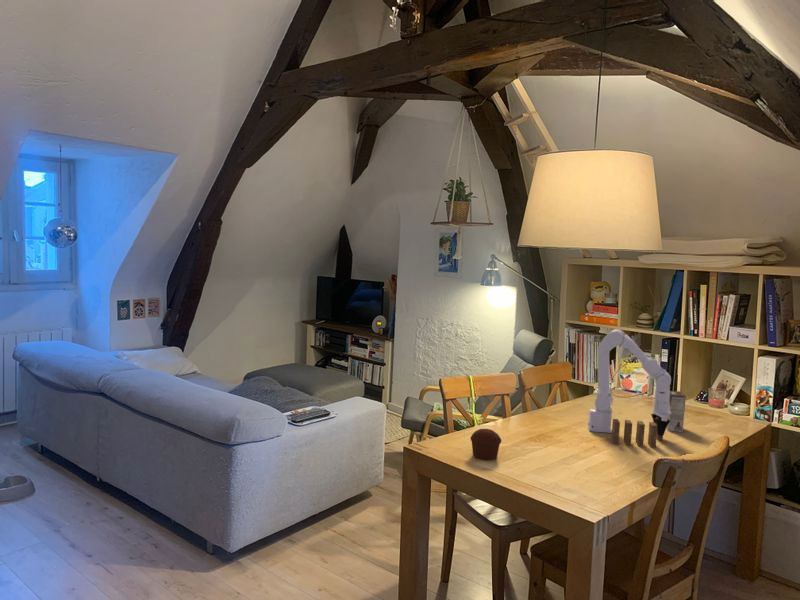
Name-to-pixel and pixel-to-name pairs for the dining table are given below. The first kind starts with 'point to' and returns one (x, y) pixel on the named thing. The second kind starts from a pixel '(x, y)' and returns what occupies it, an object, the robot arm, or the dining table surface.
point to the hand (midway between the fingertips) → (659, 433)
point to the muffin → (485, 444)
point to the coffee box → (676, 411)
